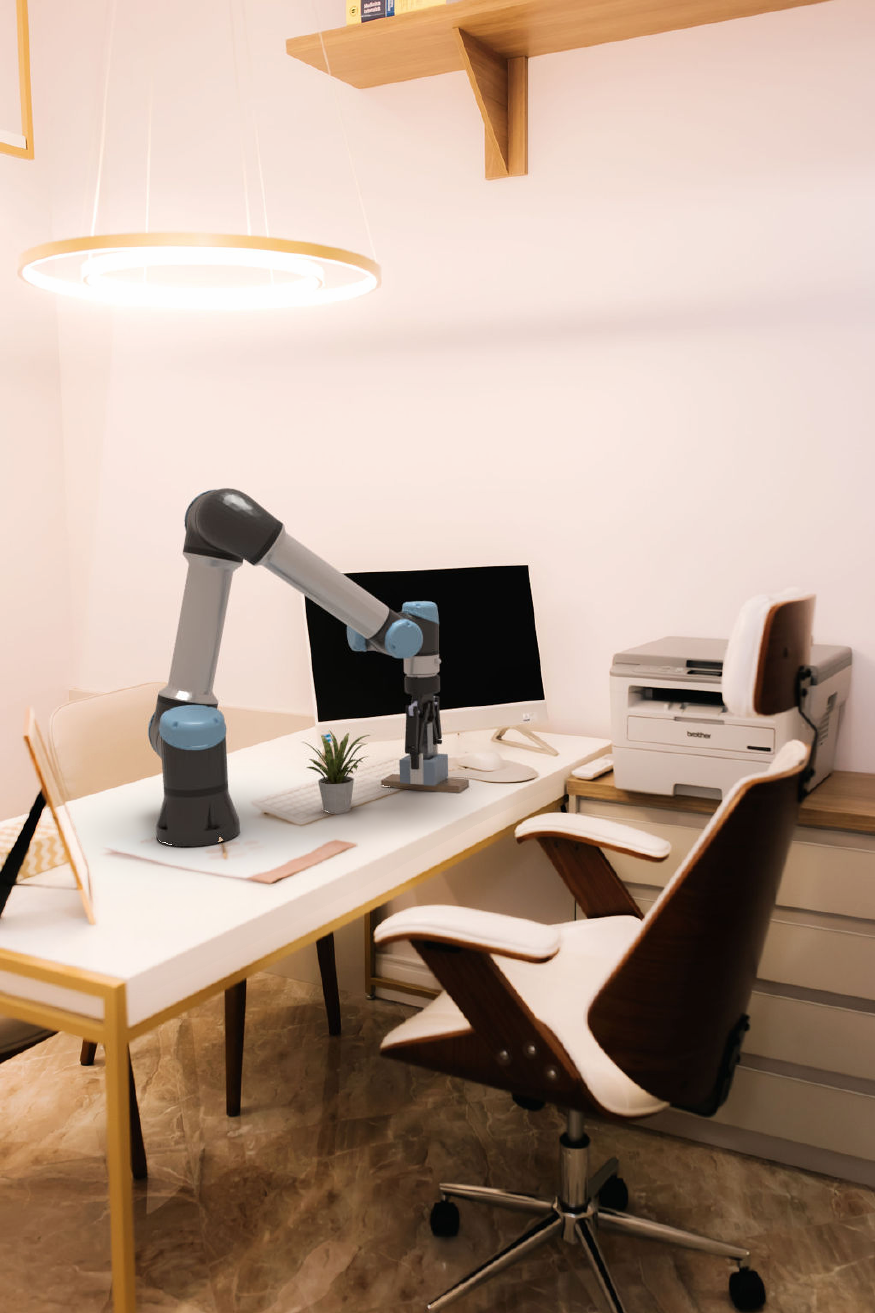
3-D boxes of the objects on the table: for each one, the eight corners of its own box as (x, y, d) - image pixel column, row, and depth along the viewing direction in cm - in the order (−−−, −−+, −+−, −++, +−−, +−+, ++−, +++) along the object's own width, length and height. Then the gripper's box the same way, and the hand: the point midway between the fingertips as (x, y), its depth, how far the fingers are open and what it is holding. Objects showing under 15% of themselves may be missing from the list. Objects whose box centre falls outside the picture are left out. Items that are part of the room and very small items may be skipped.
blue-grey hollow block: (434, 785, 220) (434, 762, 219) (399, 783, 223) (399, 760, 222) (448, 776, 227) (447, 754, 227) (414, 774, 230) (413, 752, 229)
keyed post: (459, 793, 219) (458, 727, 217) (381, 787, 226) (379, 723, 224) (468, 786, 225) (467, 722, 223) (392, 780, 231) (390, 718, 229)
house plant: (393, 807, 210) (390, 727, 207) (349, 824, 198) (346, 740, 196) (338, 798, 218) (335, 720, 215) (293, 814, 206) (290, 733, 204)
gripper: (419, 682, 211) (422, 792, 214) (455, 668, 230) (457, 768, 233) (386, 681, 214) (389, 789, 217) (423, 667, 233) (426, 766, 236)
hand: (424, 778), depth 225 cm, fingers closed on blue-grey hollow block, 8 cm apart
